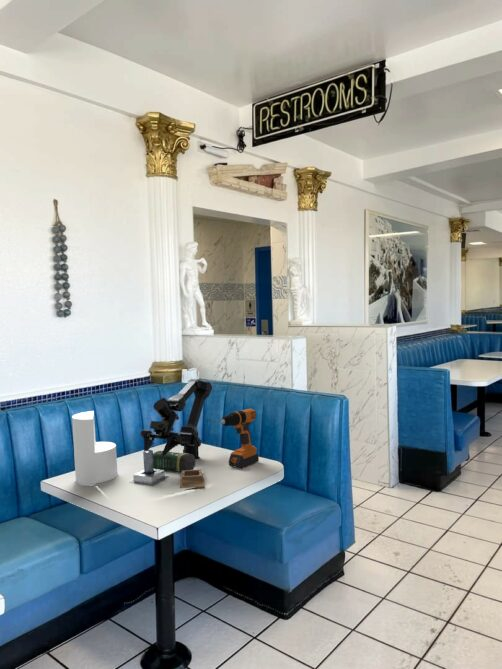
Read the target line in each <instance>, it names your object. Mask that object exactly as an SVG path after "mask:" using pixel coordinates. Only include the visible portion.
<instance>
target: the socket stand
mask: <svg viewBox="0 0 502 669" xmlns="http://www.w3.org/2000/svg"><path fill="white" fill-rule="evenodd" d="M165 471H166V470H160V469H154V473H153V474H151V475H147V474H144V469H142V470H140V471H138V472H136V473H134V474H133V480H132V481H129V482H128V483H129V484H134V485H142V486H150V487H154V486H156V485H157V484H160V483H161V482H162V481H164V480H167V479H168V478H169V477H170V475H169V476H168V475H166V473H165Z"/></svg>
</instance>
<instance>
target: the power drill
mask: <svg viewBox="0 0 502 669" xmlns="http://www.w3.org/2000/svg"><path fill="white" fill-rule="evenodd" d="M256 418H257V412H256V410H255V409H253V408H246V409H241V410H237V411H232V412H230V413H228V414H227V415H223V416H222V417H221V419H220V423H221V424H222V425H223V426H224V427H231V426H232V427H233V428H234V429H235V430H236V434H237V435H239V439H240V444H241V447H240V448H238V449H237V448H236V449H235V450H234V451H231V453H230V455H229V459H228V465H229V467H233V468H238V469H245V468H247V467H250V466H251V465H253V464H256V463H258V462H259V461H260V457H259V454H258V453H257V449H258V448H257V447H256V446H254V445H252V435H251V432H250V424H252V423H253V422H254V420H255V419H256Z"/></svg>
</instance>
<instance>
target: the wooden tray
mask: <svg viewBox="0 0 502 669" xmlns="http://www.w3.org/2000/svg"><path fill="white" fill-rule="evenodd" d="M179 489H185V491H192V490H194V491H195V490H204V489H206V485H205V475H204V472H203V470H202V468H198V469H191V470H184V471H182V472H181V474H180V475H179Z"/></svg>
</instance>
